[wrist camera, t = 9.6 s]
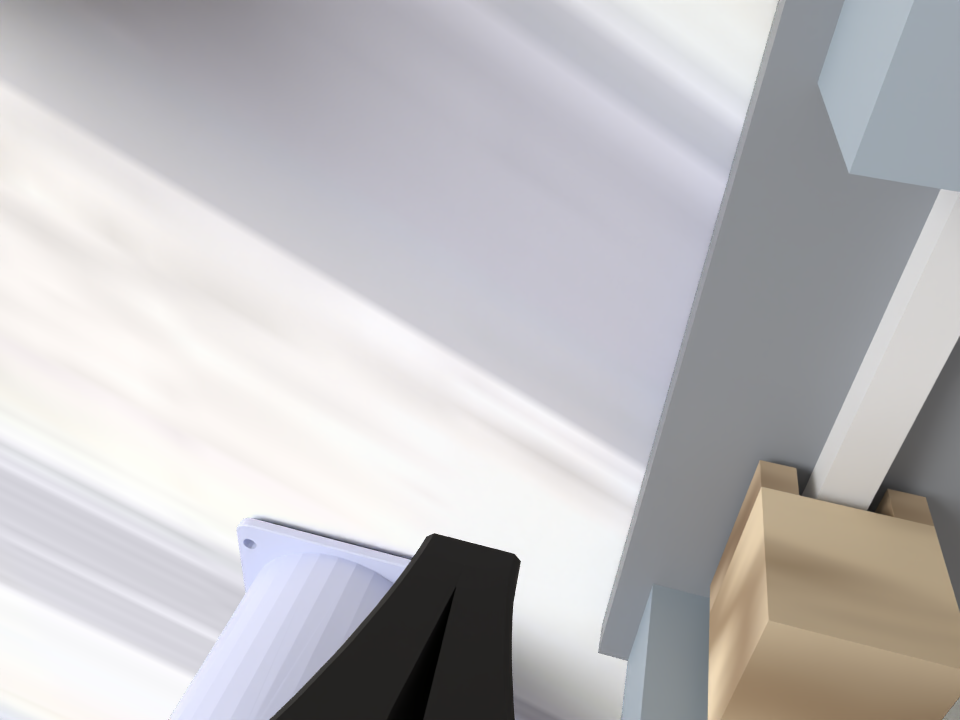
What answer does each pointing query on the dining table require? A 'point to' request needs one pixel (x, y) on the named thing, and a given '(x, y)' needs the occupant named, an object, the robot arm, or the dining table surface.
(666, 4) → the dining table surface
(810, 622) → the carriage
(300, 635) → the robot arm
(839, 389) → the rail bench
